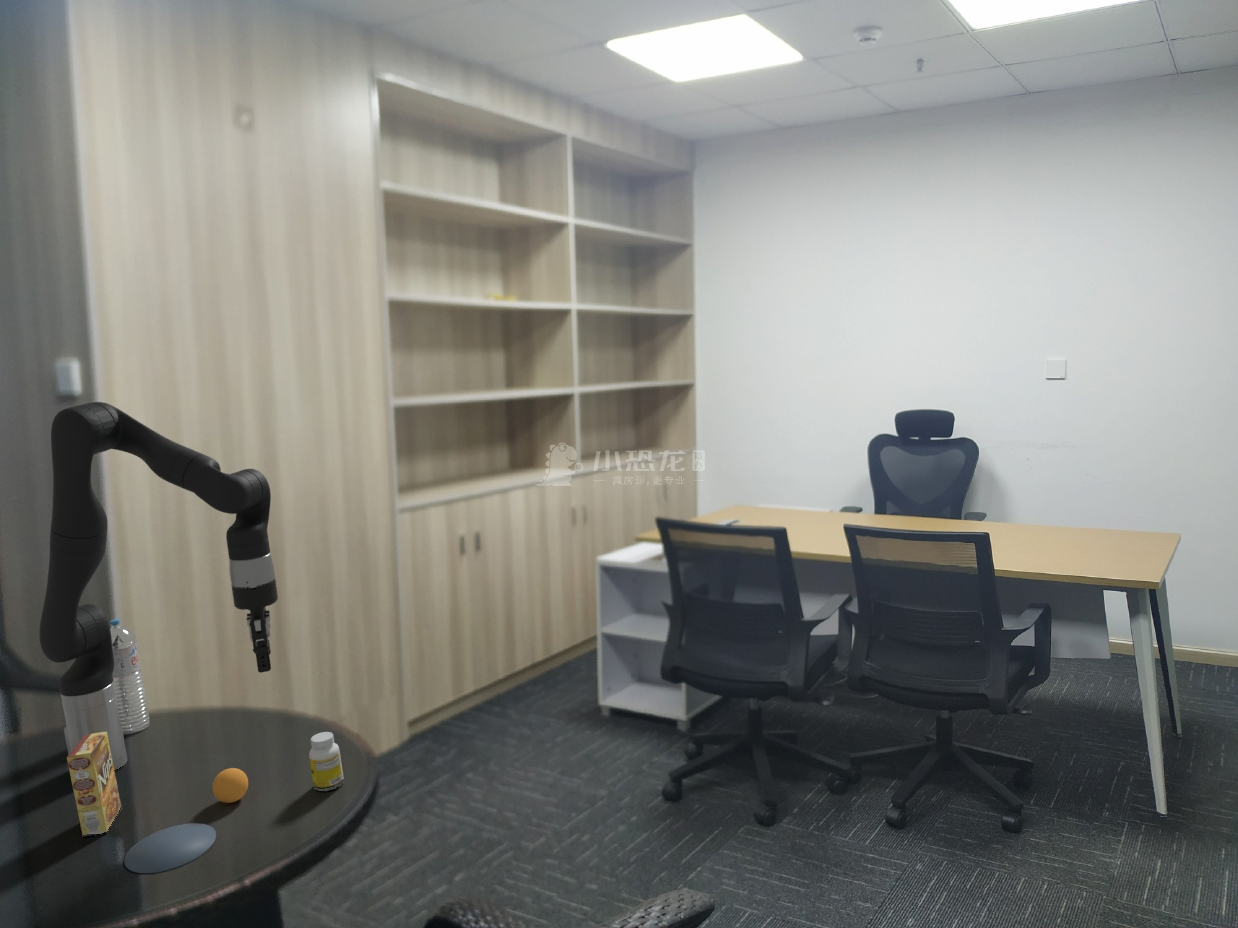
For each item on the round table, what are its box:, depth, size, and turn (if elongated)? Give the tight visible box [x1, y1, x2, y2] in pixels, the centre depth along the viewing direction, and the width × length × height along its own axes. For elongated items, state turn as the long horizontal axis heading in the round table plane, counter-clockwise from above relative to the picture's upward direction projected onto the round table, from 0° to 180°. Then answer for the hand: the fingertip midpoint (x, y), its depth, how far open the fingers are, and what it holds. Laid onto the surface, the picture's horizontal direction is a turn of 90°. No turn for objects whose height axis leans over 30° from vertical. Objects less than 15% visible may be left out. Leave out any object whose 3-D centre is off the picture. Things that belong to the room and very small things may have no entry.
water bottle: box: [109, 618, 151, 736], centre depth 201 cm, size 7×7×25 cm
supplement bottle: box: [308, 731, 345, 789], centre depth 170 cm, size 5×5×10 cm
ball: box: [212, 767, 249, 804], centre depth 168 cm, size 6×6×6 cm
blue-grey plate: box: [123, 822, 217, 874], centre depth 154 cm, size 14×14×1 cm
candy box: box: [66, 732, 122, 836], centre depth 163 cm, size 9×4×15 cm, turn 13°
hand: (264, 662), depth 171 cm, fingers open, 8 cm apart
